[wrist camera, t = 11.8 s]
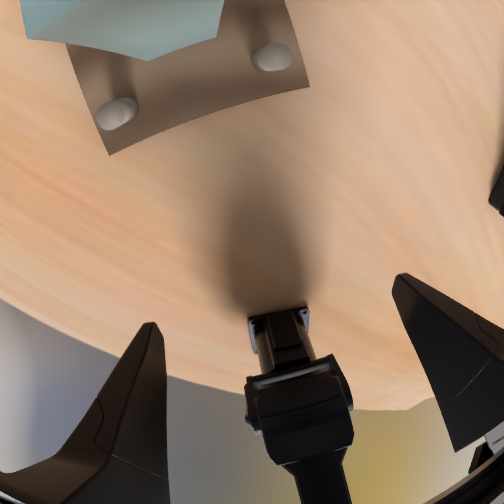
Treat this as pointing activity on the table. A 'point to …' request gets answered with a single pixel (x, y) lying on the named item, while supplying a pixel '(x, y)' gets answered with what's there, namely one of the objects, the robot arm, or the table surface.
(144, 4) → the block
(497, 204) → the black ridged slab
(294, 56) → the pin stand
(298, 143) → the table surface
